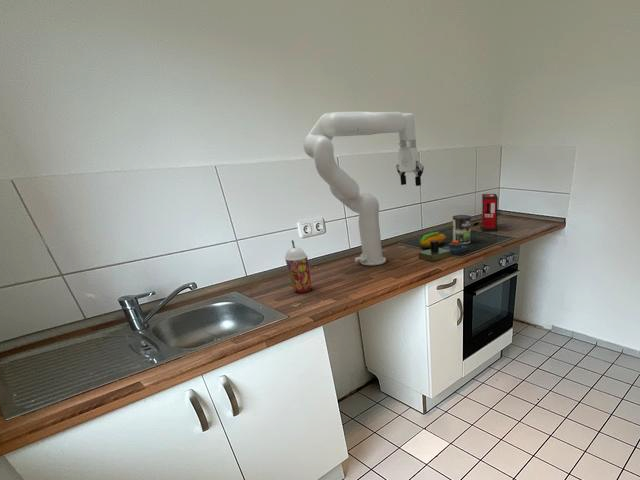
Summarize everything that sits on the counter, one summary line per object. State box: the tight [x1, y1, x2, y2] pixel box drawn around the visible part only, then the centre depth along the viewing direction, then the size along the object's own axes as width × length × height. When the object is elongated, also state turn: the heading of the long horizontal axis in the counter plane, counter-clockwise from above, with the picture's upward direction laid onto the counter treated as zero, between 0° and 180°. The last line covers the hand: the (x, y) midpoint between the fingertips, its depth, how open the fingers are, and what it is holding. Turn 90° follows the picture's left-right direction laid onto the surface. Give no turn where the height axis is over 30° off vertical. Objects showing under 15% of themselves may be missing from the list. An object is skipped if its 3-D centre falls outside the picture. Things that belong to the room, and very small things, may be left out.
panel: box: [418, 247, 452, 263], centre depth 194 cm, size 13×10×3 cm
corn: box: [419, 231, 447, 249], centre depth 213 cm, size 7×8×20 cm
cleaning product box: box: [481, 193, 499, 232], centre depth 246 cm, size 16×9×20 cm, turn 178°
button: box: [451, 239, 459, 245], centre depth 202 cm, size 4×4×2 cm
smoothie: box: [284, 239, 312, 293], centre depth 152 cm, size 8×8×20 cm
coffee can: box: [452, 214, 472, 245], centre depth 218 cm, size 10×10×14 cm
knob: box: [430, 240, 440, 252], centre depth 192 cm, size 4×4×5 cm
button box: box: [442, 242, 469, 256], centre depth 203 cm, size 11×9×4 cm
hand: (410, 185), depth 186 cm, fingers open, 9 cm apart
